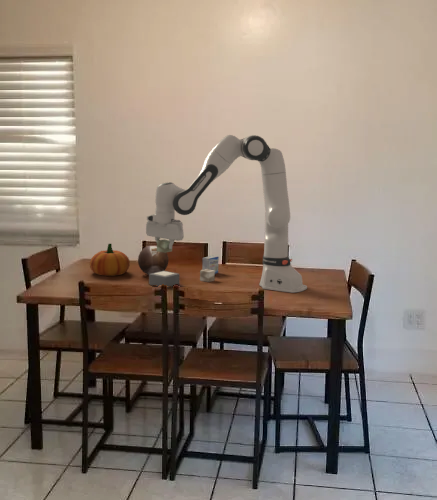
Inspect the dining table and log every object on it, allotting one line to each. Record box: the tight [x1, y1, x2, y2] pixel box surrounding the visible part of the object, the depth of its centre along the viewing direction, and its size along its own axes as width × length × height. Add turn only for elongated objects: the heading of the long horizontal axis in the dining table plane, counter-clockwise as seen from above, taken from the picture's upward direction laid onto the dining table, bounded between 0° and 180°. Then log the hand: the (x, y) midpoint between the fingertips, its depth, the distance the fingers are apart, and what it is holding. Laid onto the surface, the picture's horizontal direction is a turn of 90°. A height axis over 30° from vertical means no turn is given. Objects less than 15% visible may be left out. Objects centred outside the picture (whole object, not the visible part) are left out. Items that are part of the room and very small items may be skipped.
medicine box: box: [201, 255, 220, 275], centre depth 310 cm, size 8×4×9 cm, turn 143°
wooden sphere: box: [137, 244, 169, 276], centre depth 303 cm, size 15×15×15 cm
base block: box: [148, 270, 180, 287], centre depth 285 cm, size 10×10×5 cm
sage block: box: [156, 238, 173, 253], centre depth 282 cm, size 5×5×5 cm
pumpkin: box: [89, 243, 131, 277], centre depth 304 cm, size 19×19×15 cm
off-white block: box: [199, 269, 216, 283], centre depth 295 cm, size 5×5×5 cm
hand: (164, 247), depth 283 cm, fingers closed on sage block, 5 cm apart
